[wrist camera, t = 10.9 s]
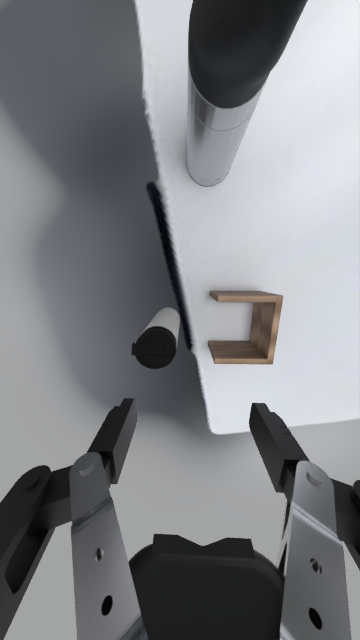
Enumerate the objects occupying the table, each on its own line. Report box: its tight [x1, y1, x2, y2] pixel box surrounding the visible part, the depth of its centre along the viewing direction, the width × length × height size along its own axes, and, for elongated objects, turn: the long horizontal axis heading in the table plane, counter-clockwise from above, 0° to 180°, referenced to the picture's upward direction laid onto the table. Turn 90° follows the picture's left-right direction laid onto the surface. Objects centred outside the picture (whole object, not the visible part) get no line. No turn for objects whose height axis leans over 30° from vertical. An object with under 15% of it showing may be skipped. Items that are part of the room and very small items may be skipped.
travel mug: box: [132, 307, 180, 369], centre depth 34 cm, size 6×7×20 cm
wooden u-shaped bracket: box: [208, 291, 283, 364], centre depth 38 cm, size 14×12×10 cm
